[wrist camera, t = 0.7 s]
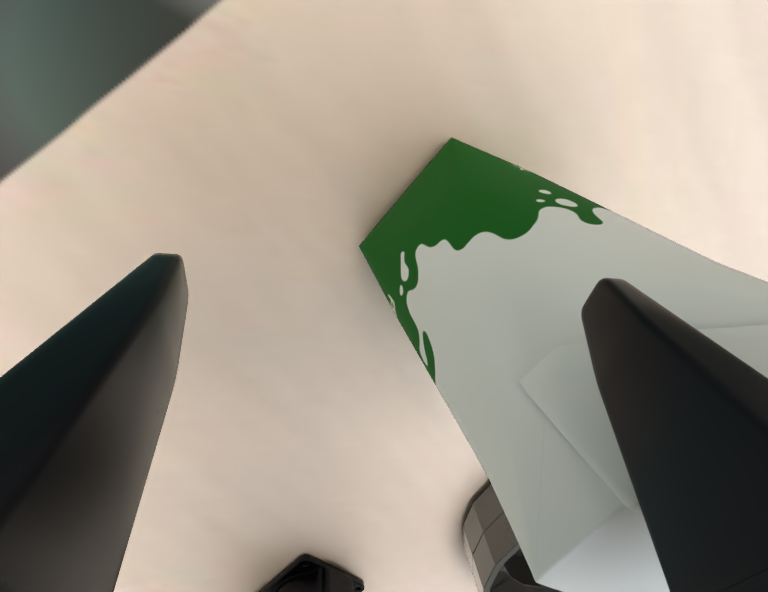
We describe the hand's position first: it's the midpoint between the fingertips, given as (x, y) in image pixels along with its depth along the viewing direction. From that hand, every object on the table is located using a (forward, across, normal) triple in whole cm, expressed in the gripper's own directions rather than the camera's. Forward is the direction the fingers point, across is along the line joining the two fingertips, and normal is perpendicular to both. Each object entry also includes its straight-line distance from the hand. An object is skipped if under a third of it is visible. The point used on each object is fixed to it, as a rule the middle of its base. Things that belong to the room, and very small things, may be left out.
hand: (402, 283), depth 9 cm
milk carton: (+14, -6, +9) cm, 18 cm away
